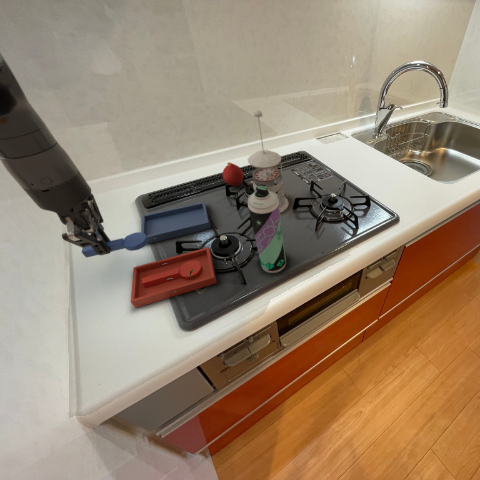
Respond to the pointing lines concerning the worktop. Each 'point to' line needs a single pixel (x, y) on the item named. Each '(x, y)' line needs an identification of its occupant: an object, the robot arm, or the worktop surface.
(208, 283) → the red tray
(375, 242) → the worktop surface
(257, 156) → the french press
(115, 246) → the blue spoon
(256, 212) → the spray can
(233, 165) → the onion
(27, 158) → the robot arm
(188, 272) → the red spoon
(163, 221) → the blue tray
